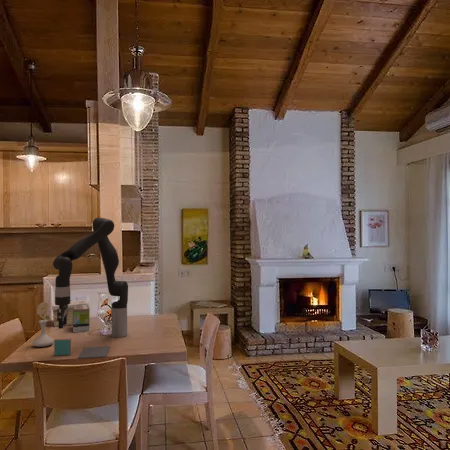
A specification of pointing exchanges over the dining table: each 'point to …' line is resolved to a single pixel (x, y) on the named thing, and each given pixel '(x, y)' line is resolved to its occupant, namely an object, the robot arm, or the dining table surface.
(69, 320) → the storage basket
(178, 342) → the dining table surface
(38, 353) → the dining table surface
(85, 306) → the tea box
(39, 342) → the flower in vase
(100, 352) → the mat
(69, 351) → the tile
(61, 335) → the dining table surface
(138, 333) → the dining table surface
